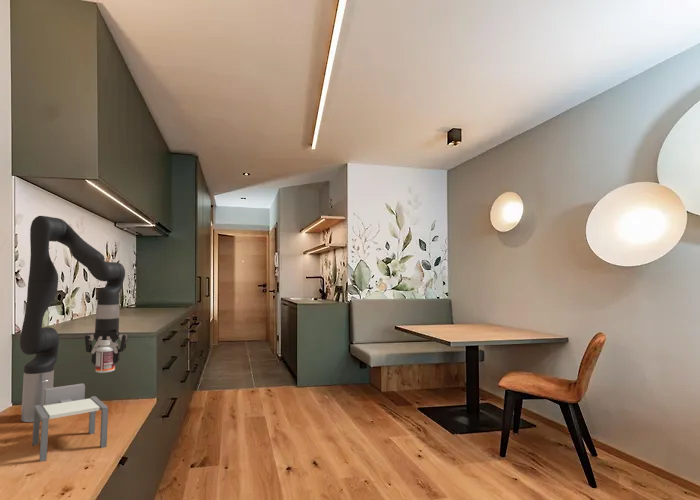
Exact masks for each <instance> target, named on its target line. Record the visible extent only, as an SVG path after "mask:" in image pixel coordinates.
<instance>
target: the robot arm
mask: <svg viewBox="0 0 700 500" xmlns="http://www.w3.org/2000/svg"><path fill="white" fill-rule="evenodd" d="M29 231H30V233H29V241H30V242H29V243H30V260H29V273H28V281H27V296H26V304H25V312H24V316H23V317H24V318H23V321H22V322H23V323H22V327H21V333H20V336H19V337H20V338H19V347H20V350H21V352H22V353H23V354H25V355H26V356H27V355H28V356H29V355H35V356H34V357H33V358H32V360H30V361H29V362H27V363H26V364H25V365H24V367H23V382H22V397H21V398H22V399H21V401H22V402H21V411H20V413H21V414H20V415H21V416H20V421H21V422H24V423H33V421H34V405H41V407H42V408H43V406H44V391H45V389H46V388H53V387H54V377H55V376H54V375H55V373H54V372H55V366H56V364H57V361H58V352H59V344H60V337H59V333H58V331H57V330H56V329H55V328H53V327H51V326H50V327H48V326H47V327H43V321H44V316H45V314H46V312H47V311H48V310H49V307H50V306H51V304H52V303H53V301H54V300H55V298H56V297H57V294H58V286H59V274H58V271H57V269H56V266H55V264H54V262H53V261H52V259H51V256H50V242H56V243H57V242H58V243H60V244H62V245H64V246H65V247H67V248H69V251H70V253H71V255H72V257H73V258H74V259H75V260H76V261H77V262H78V263H79V264H81V265H82V266H83V267H86V268H87V270H88V271H89V273H90V274H91V276H92V277H93V278H94V279H96V280H98V281H101V282H106V284H105V286H104V287H102V288H100V289H99V290H98V291H97V297H96V298H97V300H96V301H97V302H96V309H95V310H96V311H95V317H94V318H95V325H94V326H95V327H94V330H95V331H94V333H93V334H86V335H85V336H84V342H85V343H84V345H85V352H87V353H90V354H91V363H92V364H93V365H96V349H97V348H98V347H99V346H100V345H98V342H99V340H110V346H111V348H113V351H114V361H113V364H115V365H116V364H118V363H119V362H120V354H121V353H122V352H124V351H126V349H127V344H128V337H129V335H128V334H126V333H125V334H121V333H120V331H119V329H120V293H121V290H122V288H123V285H124V281H125V278H126V269H125V266H124V265H123V264H122V263H120V262H114V261H106V260H105V255H104V254H103V253H101V252H100V251H99V250H98V249H96V248H95V247H93V246H92V245H90V244H89V243H88V242H87V241H85V240H84V239H83V238H82V237H81V236H80V234H78V233H77V232H76V231H75V230H74V229H73V228H72V227H71V226H70V225H69V224H68V222H66V221H65V220H64V219H62V218H58V217H54V216H52V217H51V216H46V215H38V216H36V217H35V218H33V220H32V222H31V224H30V230H29ZM118 339H119V340H120V345H119V343H118V341H117V340H118ZM93 340H95V341H96V342H95V344H94V345H93ZM40 422H42V421H41V419H40Z"/></svg>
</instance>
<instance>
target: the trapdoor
mask: <svg viewBox="0 0 700 500" xmlns="http://www.w3.org/2000/svg"><path fill="white" fill-rule="evenodd" d="M85 393H86V385H85V383H77V384H70V385H61V386H56V387H54V386H53V388H46V389H45V391H44V406H43V410H44V411H45V413H46V414H47V416H48V417H49V420H52V419H58V418H64V417H69V416H74V415H81V414H86V413H90V412H93V411H96V412H98V411H100V410H101V409H100V407H99V406H98V405H97V404H96V403H95V402H93V401H92V400H91V399H90V398H85V395H86V394H85Z"/></svg>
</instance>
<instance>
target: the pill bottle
mask: <svg viewBox="0 0 700 500" xmlns="http://www.w3.org/2000/svg"><path fill="white" fill-rule="evenodd" d="M98 345H100V346H99V347H98V348H97V349H96V364H95V373H97V374H98V373H99V374H105V373H111V372H113V371H115V370H116V364H113V361H114V351H113V348H111V346H110V340H99V342H98Z"/></svg>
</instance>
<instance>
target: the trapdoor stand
mask: <svg viewBox="0 0 700 500" xmlns="http://www.w3.org/2000/svg"><path fill="white" fill-rule="evenodd" d="M90 399H91V400H92V401H93V402H95V403H96V404H97V405H98V406H99V407H100V409H99V410H100V411H101V415H100V416H101V417H100V435H99V437H100V440H99V447H100V448H101V449H102V448H107V445H108V443H107V442H108V440H107V439H108V426H109V425H108V424H109V407H108V406H107V405H106V404H105V403H104V402H103V401H102V400H101V399H99V398H98V397H97V396H95V395H93V396H90ZM96 412H97V411H93V412H88V413H89V416H88V417H89V418H88V419H89V420H88V434H89V435H92V434H95V432H96V416H97V415H96ZM40 419H41V421H40ZM49 420H50V419H49V417H48V416H47V414H46V413H45V411H44V410H43V408H42V407H41V405H34V421H33V422H32V423H33V424H32V440H31V443H32V445H31V446H32V447H34V446H38V445H39V444H40V446H39V462H41V463H42V462H44V461H47V459H48V458H47V457H48V455H47V454H48V440H49Z"/></svg>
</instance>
